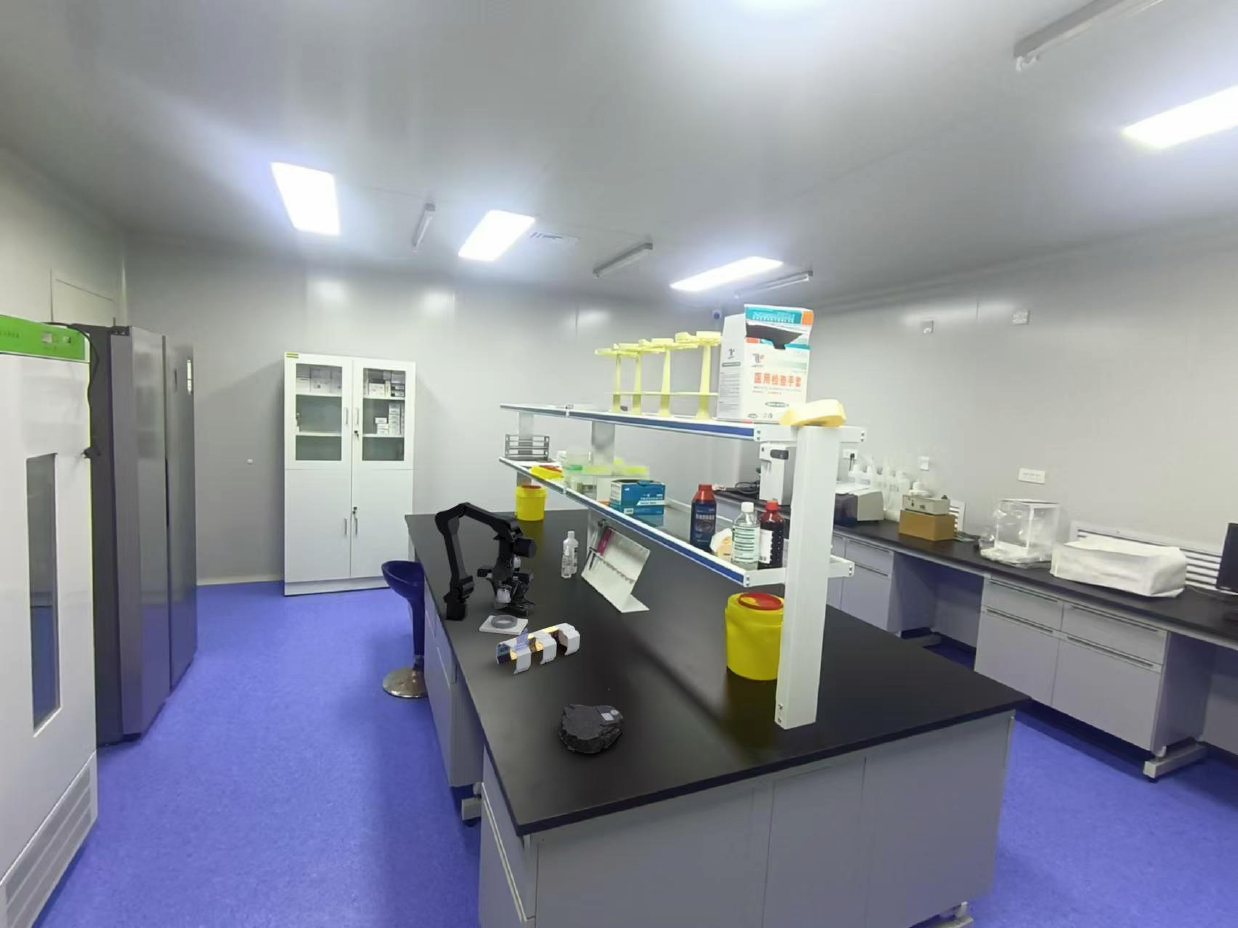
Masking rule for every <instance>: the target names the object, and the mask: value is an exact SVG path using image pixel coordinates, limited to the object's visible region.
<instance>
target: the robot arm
mask: <svg viewBox="0 0 1238 928" xmlns="http://www.w3.org/2000/svg"><path fill="white" fill-rule="evenodd" d="M463 517H468V518H469V519H473V520H475V521H477V522H480V523H481V524H484V525H486V526H489V527H490V528H491V529H492V530H493V531H494V532H495V533H497V534H496V535H495V536H494V537H493V538H492V540H493V541H497V542H498V547H497V549H498V550H497V557H496V561H495V565H494V566H493V565H487V564H486V565H485V564H483V565H482V566H480V567H479V568H478V569H477V570H476V577H477V578H485V580H486V581H488V582H489V583H490V584H491V586H492V590H493V593H495V597H497V587H498V585H499V580H501V581H505V580H506V579H507V577H514V580H513V581H512V587H511V594H510V598H511V599H512V597H513V595H514V593H515V590H516V588H517V586H518V584H519V583H521V582H530V581H531V579H532V578H533V579H534V572H533V569H524V568H522V569H520V572H515V571H514V569H515V567H514V559H515V555H516V556H518V557H519V558H520V557H521V558H527V559H533V558H535V556H536V554H537V549H538V547H537V543H536V542H535V538H534V537H525V536H526V535H525V533H524V532H523V530H522V528H521V527H520V523H519V521H518V519H517V518H516V517H514V516H509V515H502V514H501V515H500V514H496V513H493V512H492V511H488V510H487V509H484V508H481V507H479V506H477V505H474V504H472V503H471V502H469V501H465V502H459V503H458V504H457V505H455V506H453V507H451V508H449V509H445V510H441V511H438V512H437V513H436V515H435V516H434V523H435V526H436V528H437V530H438V532H439V533H440V534H441V535H442V536H443V541H444V546H445V551H446V555H447V559H448V564H449V569H450V579H449V584H448V585H449V587H448V588H449V590H448V592H447V593H446V594H444V596H442V598H443V599H442V600H443V603H444V604H446V610H445V611H446V613H445V614H446V615H445V616H444V618H443V619H444V620H452V621H460V622H461V621H463V620H464V619H465V617H467V616H468V609H469V607H468V606H469V604H468V603H467V599H469V598H470V597H471V595H472V594H473V592H474V591H475V586H476V584H475V582H474V576H473V574H471V575H469V574H468V573H467V571H466V568H465V564H464V559H463V553H462V549H461V544H460V539H459V535H458V530H459V528H460V519H462V518H463Z"/></svg>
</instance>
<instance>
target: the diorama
mask: <svg viewBox="0 0 1238 928" xmlns="http://www.w3.org/2000/svg"><path fill="white" fill-rule="evenodd" d="M522 631H523V632H521V633H520V635H517V636H516V637H514V638H510V639H508V640H504V641H500V642H498V643H496V649H495V651H496V652H495V654H496V655H495V660H496V662H497V665H501V664H505V663H506V662H509V661H512V660H516V666H515V667H516V668H515V670H514V671H513V675H516V674H519V673H522V672H523V671H527V670H528V669H529V667H530V666H531V663H532V662H531V660H532V658H531V657H532V654H533V653H535V652H536V653H537V652H538V651H541V650H542V660H541V661H540V665H543V664H545V662H546V663H549V662H551V661H554V658H556V656H557V645H559V644H561V645H563V646H565V647H566V648H567V649H566V651H565V652H564V655H565V656H568V655H570V654H572V653H575V652H578V651H577V650H578V649H579V648H580V639H581V637H580V636H581V635H580V633H579V631H578V630H576V629H575V627H574V626H573V625H570V624H569V623H566V622H565V623H559V624H556V625H553V626H549V627H546V628H543V629H540V630H537V631H534V632H530V633H529V632H528V628H525V627H524V629H523V630H522ZM518 672H519V673H518Z"/></svg>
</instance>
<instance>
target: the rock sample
mask: <svg viewBox="0 0 1238 928" xmlns="http://www.w3.org/2000/svg"><path fill="white" fill-rule="evenodd" d="M562 711H563V713H562V714H561V717H560V719H559V724H560V726H559V729H560V730H558V732H559V731H560V733H561V737H562V738H563V740H564V741H565V742H566V743H567V744H568V745H567V746H571V747H572V748H574V749H577V750H578V751H580V753H581V752H590V753H589V754H595V753H598V752H601V751H600V750H602V748H603V747H605V746H607V745H608V744H610V743H612V742H613V741H614V740H615V741H616V739H618V737H617V736H618V734H619V733H621V732H622V733H623V730H624V727H623V724H624V721H625V720H624V716H623V715H622V714H621V712H620V711H618V710H617V709H616V708H615V707H614V706H612V705H606V704H605V705H596V706H594V705H593V706H588V705H584V704H573V703H572V704H571V703H569V704H568V705H565V706H564V708H563V710H562ZM563 740H562V741H563ZM603 749H604V748H603ZM578 751H577V752H578Z"/></svg>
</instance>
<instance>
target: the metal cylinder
mask: <svg viewBox="0 0 1238 928" xmlns="http://www.w3.org/2000/svg"><path fill="white" fill-rule="evenodd" d="M510 594H511V586H510V585H505V584H504V585H499V586H498V587H497V599H496V601H497V602H500V603H508V602H510V601H511V598H510Z"/></svg>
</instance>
